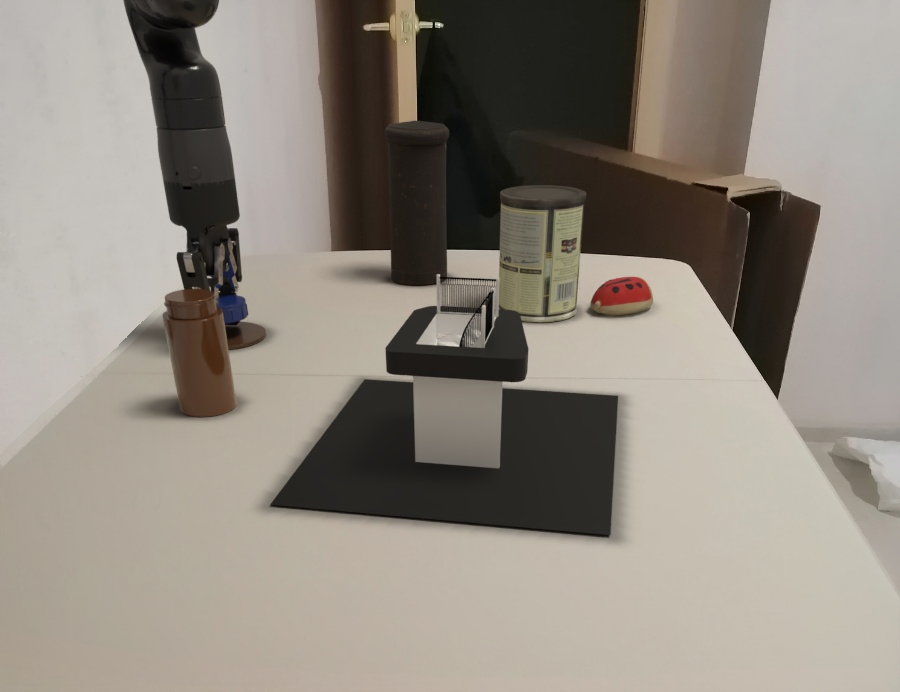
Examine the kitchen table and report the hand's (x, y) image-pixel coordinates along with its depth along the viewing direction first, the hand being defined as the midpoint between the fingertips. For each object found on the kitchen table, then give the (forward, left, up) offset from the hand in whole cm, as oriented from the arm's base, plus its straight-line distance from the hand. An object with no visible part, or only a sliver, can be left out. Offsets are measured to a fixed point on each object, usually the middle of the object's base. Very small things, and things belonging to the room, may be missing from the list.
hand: (222, 331), depth 100 cm
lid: (0, 0, +3) cm, 3 cm away
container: (+20, +29, -1) cm, 35 cm away
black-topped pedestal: (+31, -28, -1) cm, 42 cm away
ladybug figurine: (+48, +16, -1) cm, 51 cm away
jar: (+5, -21, -1) cm, 22 cm away
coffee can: (+37, +14, -1) cm, 40 cm away
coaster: (0, 0, -1) cm, 1 cm away
